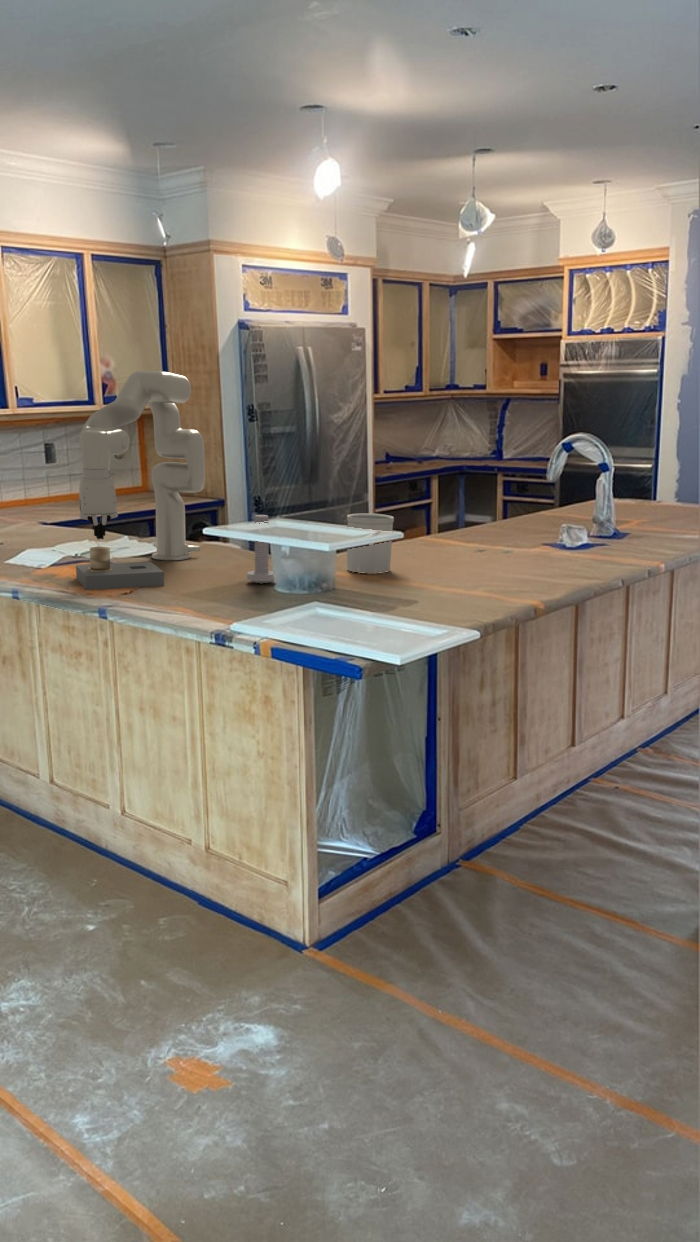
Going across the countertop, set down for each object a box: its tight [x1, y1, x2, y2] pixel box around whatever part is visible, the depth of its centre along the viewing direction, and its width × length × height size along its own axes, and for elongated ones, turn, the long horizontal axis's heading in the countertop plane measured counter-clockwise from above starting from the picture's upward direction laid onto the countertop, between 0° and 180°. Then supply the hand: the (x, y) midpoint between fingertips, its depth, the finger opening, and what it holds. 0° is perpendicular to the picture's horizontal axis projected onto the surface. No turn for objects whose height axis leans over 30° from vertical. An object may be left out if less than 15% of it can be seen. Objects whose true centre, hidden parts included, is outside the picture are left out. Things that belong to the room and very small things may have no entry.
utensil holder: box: [346, 512, 395, 573], centre depth 318 cm, size 15×15×18 cm
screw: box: [246, 514, 274, 585], centre depth 295 cm, size 8×8×20 cm
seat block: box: [75, 561, 165, 591], centre depth 294 cm, size 22×18×4 cm
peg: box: [89, 546, 111, 571], centre depth 291 cm, size 6×6×10 cm
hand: (99, 538), depth 290 cm, fingers closed
